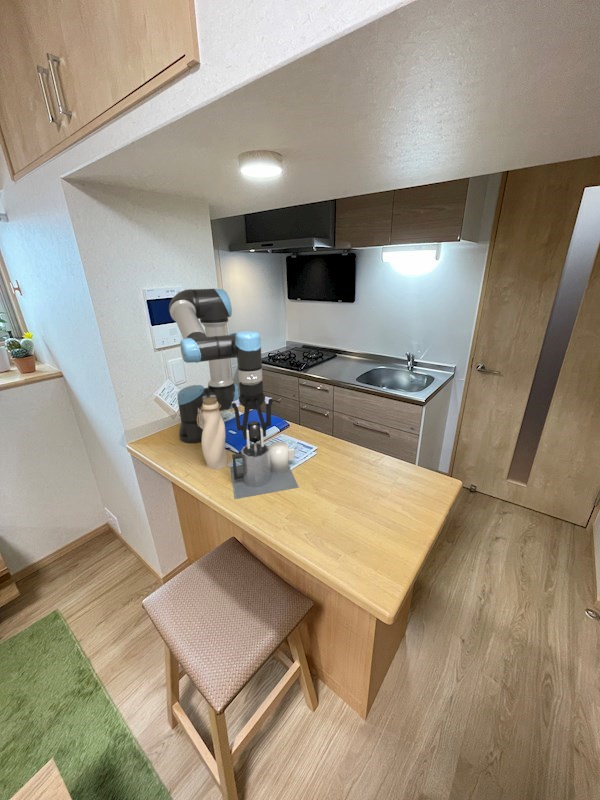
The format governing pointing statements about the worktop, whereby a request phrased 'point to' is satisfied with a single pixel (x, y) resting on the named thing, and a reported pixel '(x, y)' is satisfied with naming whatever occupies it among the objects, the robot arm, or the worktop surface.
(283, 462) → the cream mug
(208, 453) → the water bottle
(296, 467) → the worktop surface
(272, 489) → the slate board
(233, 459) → the press carafe
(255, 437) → the plunger
